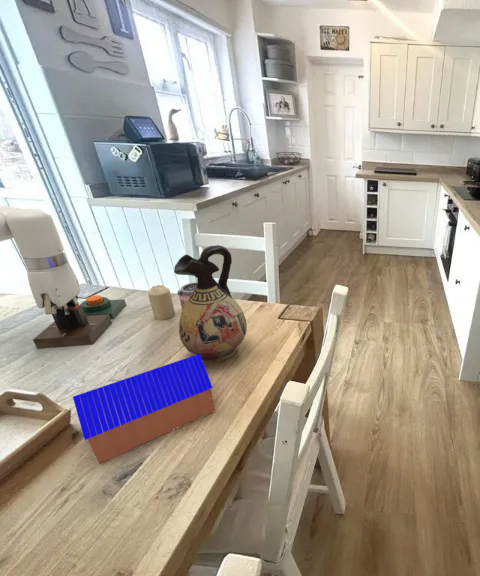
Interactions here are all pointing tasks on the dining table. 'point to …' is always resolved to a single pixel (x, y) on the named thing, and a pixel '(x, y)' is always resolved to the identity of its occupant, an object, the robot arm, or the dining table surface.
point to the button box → (104, 307)
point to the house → (144, 406)
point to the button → (94, 300)
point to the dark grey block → (78, 316)
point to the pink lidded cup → (186, 293)
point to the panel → (73, 333)
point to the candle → (161, 302)
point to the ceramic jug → (210, 309)
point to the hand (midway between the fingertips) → (72, 323)
